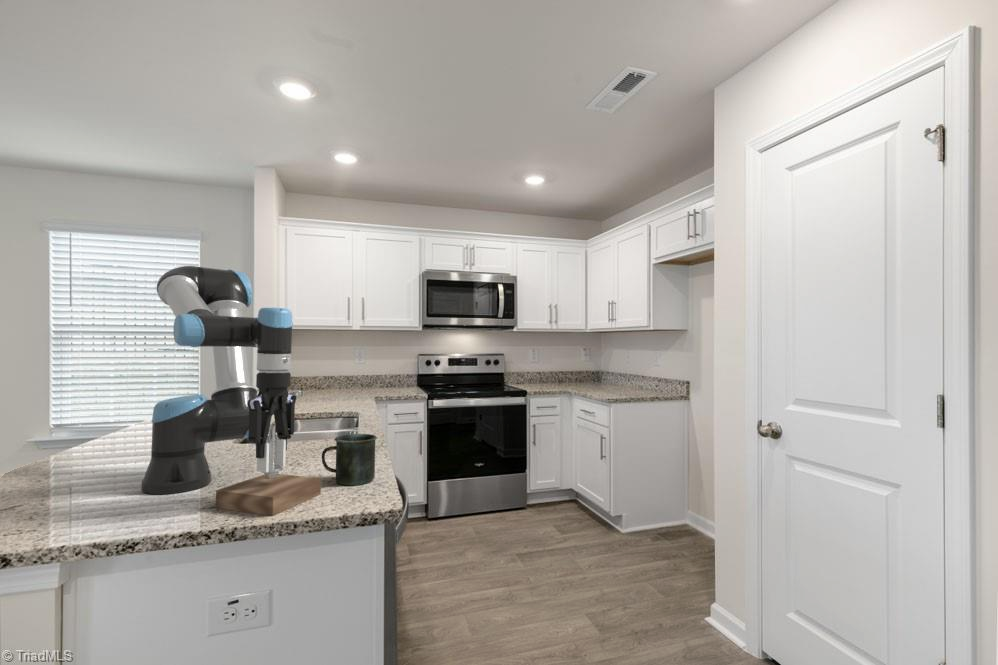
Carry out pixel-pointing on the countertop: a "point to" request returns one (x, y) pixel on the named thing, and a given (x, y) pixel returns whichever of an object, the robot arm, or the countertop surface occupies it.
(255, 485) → the wooden block
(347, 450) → the mug
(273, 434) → the screw
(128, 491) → the countertop surface
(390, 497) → the countertop surface
